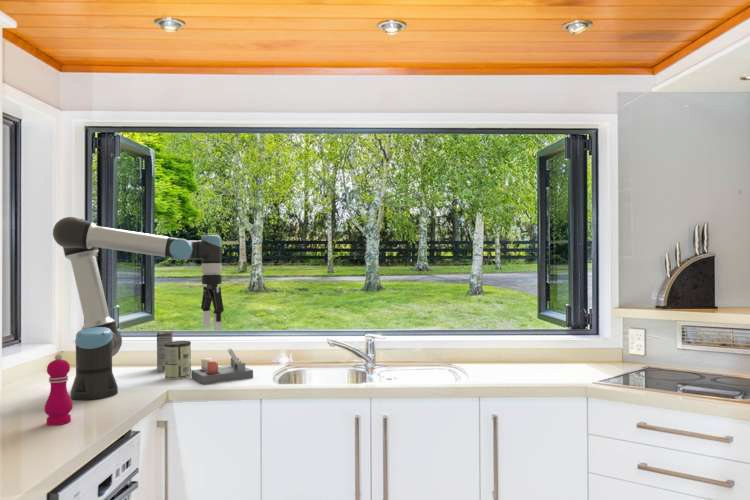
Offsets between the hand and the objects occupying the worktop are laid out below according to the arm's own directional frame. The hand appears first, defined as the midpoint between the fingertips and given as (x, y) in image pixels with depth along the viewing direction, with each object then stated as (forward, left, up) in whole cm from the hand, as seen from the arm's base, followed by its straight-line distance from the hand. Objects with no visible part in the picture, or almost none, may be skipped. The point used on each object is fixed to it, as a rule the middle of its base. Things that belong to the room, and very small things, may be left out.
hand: (212, 328), depth 227 cm
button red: (0, -1, -18) cm, 18 cm away
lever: (+11, 0, -16) cm, 19 cm away
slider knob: (+12, +8, -17) cm, 22 cm away
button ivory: (0, +7, -18) cm, 19 cm away
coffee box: (-9, +37, -21) cm, 44 cm away
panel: (+5, +3, -20) cm, 21 cm away
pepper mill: (-56, -32, -21) cm, 68 cm away
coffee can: (-9, +16, -21) cm, 28 cm away
